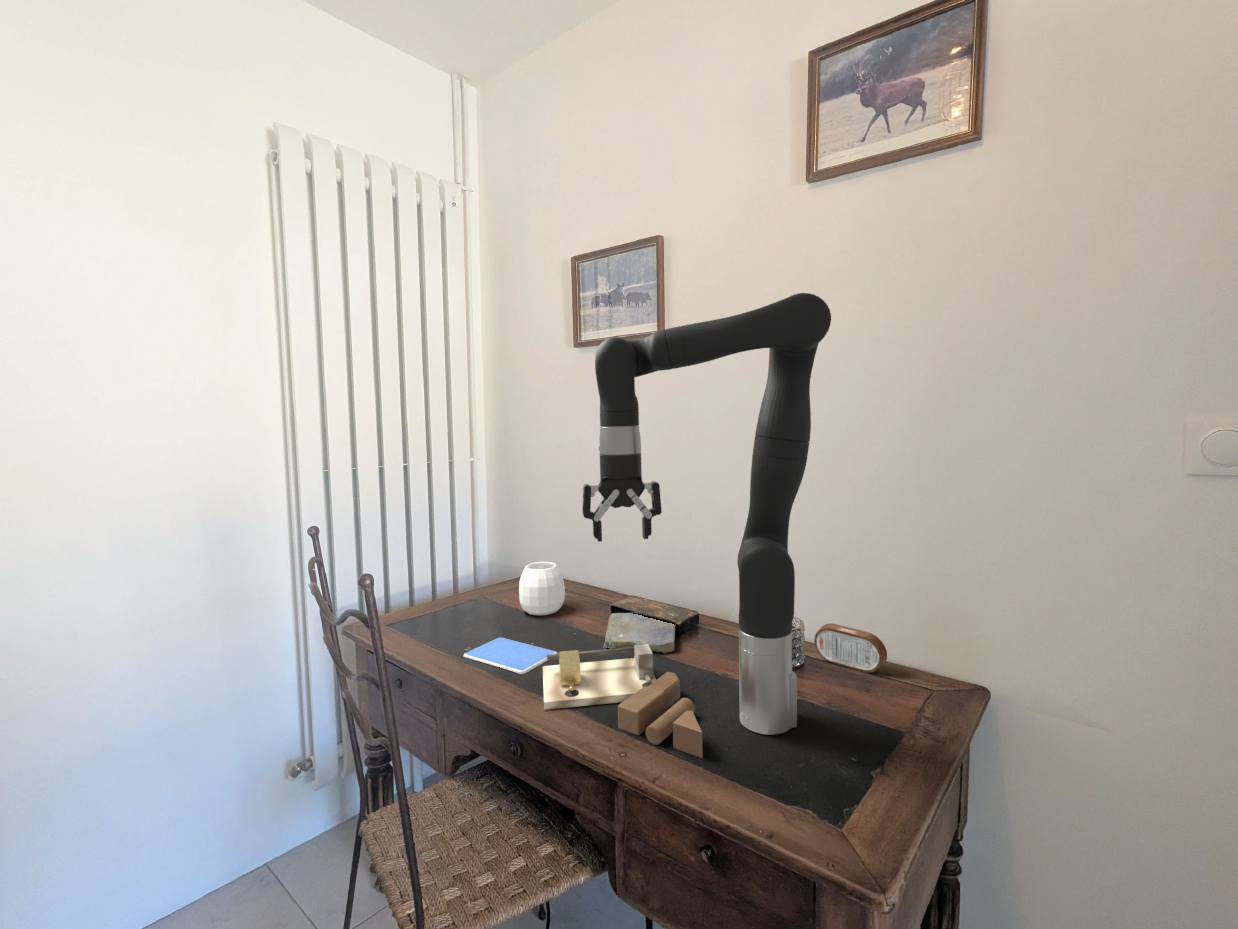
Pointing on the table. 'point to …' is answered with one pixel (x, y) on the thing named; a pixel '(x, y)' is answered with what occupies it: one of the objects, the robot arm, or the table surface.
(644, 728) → the wooden block set
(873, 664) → the tin
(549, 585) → the white faceted vase
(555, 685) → the cream panel
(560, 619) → the table surface
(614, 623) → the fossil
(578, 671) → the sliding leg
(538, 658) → the tablet computer
